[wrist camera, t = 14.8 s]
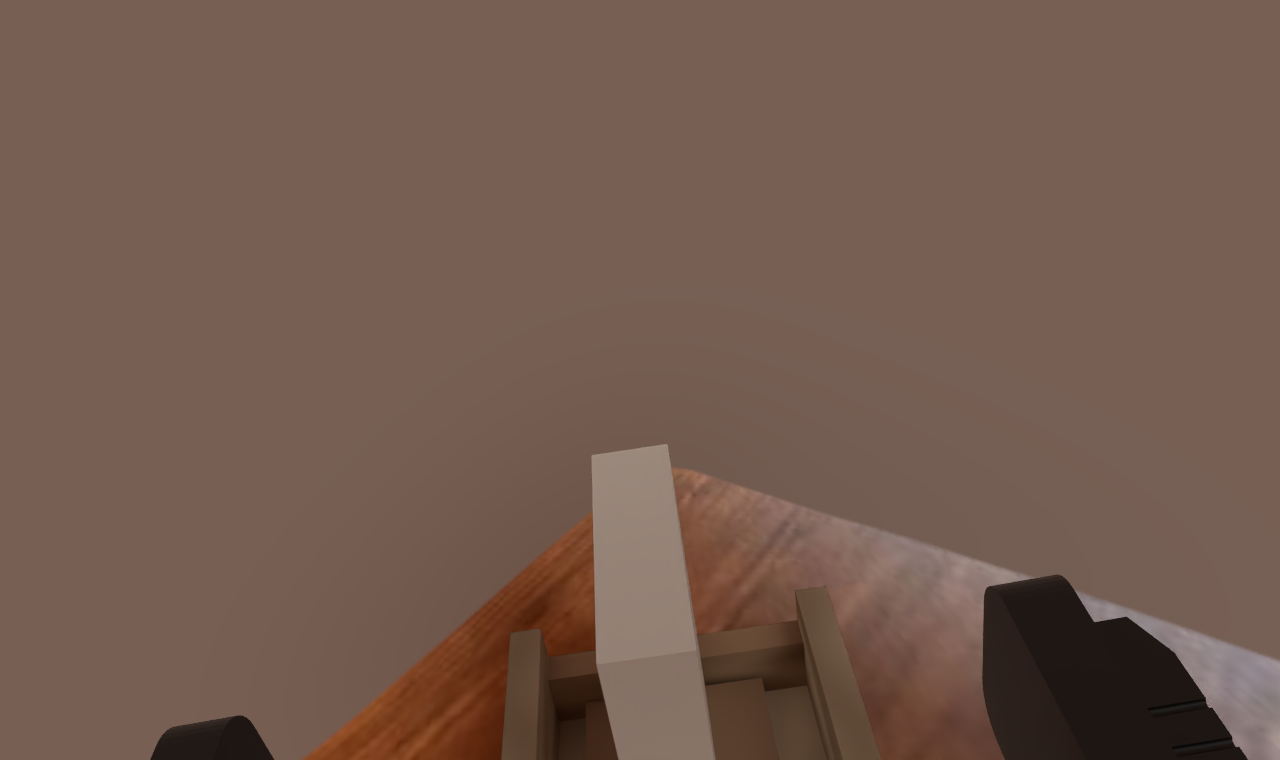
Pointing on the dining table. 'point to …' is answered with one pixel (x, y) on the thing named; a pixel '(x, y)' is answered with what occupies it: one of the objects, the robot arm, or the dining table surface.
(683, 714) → the place card sign
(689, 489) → the dining table surface
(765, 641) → the brown wooden tray
